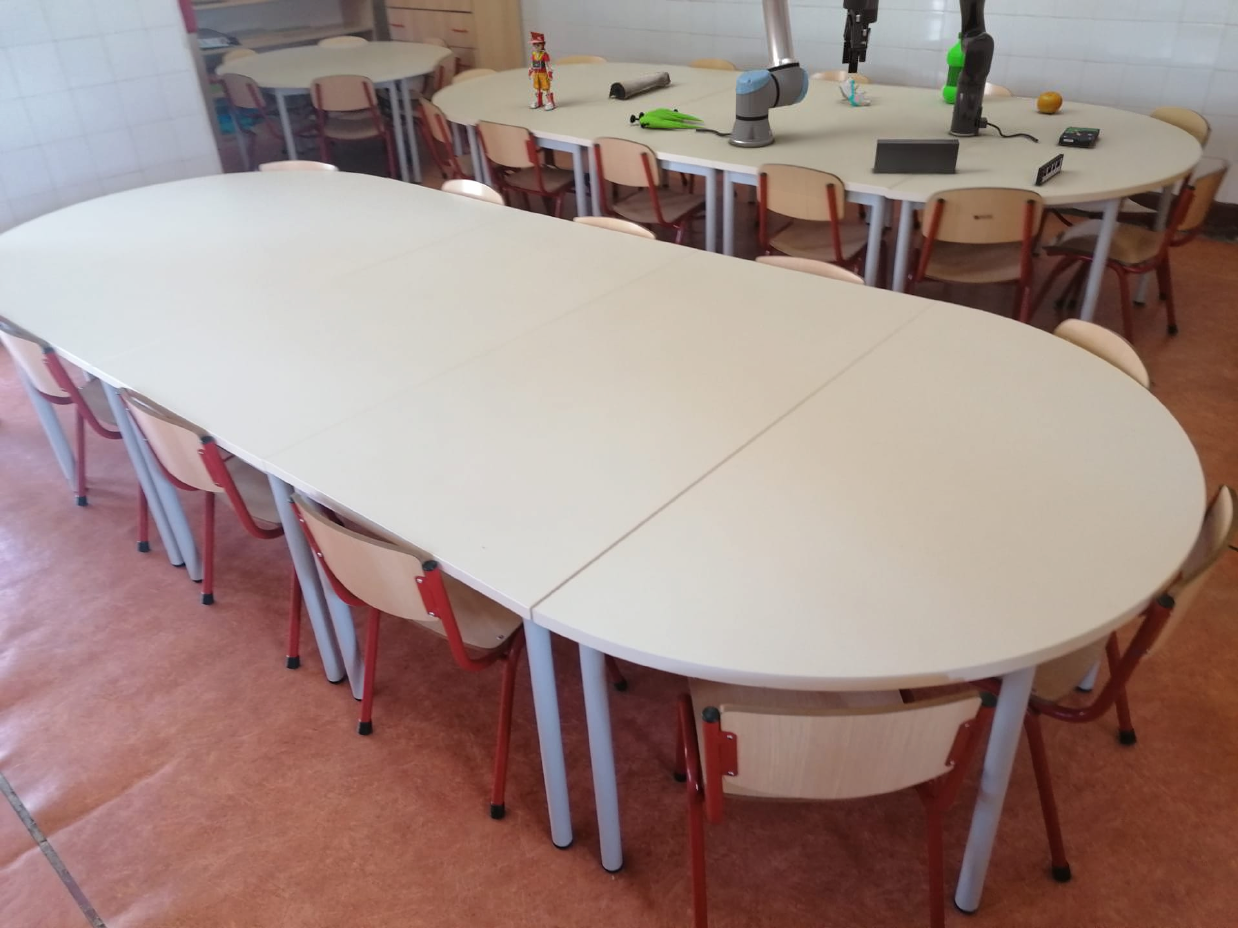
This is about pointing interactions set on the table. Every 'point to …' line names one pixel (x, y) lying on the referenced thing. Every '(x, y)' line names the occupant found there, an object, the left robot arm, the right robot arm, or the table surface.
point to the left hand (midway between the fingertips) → (849, 68)
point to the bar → (916, 155)
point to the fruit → (1049, 102)
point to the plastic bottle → (953, 71)
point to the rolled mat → (638, 84)
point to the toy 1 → (541, 71)
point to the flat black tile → (1049, 169)
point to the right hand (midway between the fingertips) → (862, 59)
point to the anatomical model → (853, 93)
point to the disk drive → (1079, 136)
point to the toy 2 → (664, 119)
